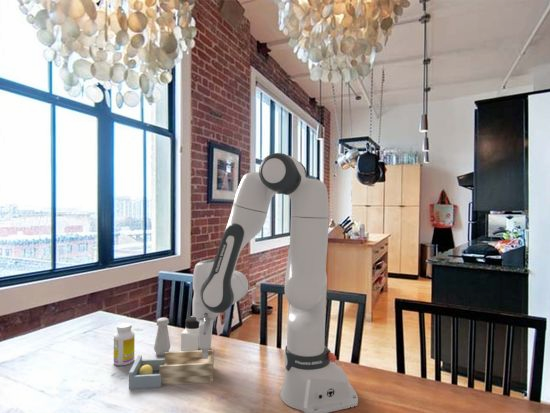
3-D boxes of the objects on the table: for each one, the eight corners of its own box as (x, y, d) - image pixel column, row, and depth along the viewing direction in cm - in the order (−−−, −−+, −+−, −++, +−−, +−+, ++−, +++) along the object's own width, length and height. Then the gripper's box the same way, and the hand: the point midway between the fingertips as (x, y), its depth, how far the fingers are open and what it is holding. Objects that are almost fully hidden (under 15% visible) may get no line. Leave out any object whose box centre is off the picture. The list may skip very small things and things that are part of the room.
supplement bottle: (137, 357, 120) (137, 322, 120) (129, 366, 114) (129, 329, 113) (118, 357, 120) (119, 321, 120) (109, 366, 113) (110, 328, 113)
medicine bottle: (198, 353, 124) (199, 321, 124) (180, 351, 125) (181, 320, 125) (205, 345, 131) (206, 315, 131) (188, 343, 132) (188, 313, 132)
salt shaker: (165, 357, 120) (165, 322, 120) (150, 356, 121) (151, 320, 121) (173, 350, 126) (173, 316, 126) (159, 349, 127) (159, 315, 127)
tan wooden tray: (213, 367, 114) (213, 349, 114) (212, 382, 104) (213, 363, 104) (164, 369, 112) (165, 352, 112) (159, 386, 102) (159, 366, 102)
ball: (149, 359, 108) (156, 369, 109) (138, 366, 108) (144, 376, 108) (146, 366, 104) (153, 376, 105) (135, 373, 104) (142, 383, 104)
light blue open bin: (166, 368, 112) (167, 354, 112) (160, 386, 101) (161, 370, 101) (137, 370, 111) (138, 355, 111) (128, 388, 100) (128, 372, 100)
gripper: (215, 319, 99) (215, 366, 99) (216, 299, 119) (216, 338, 119) (193, 320, 98) (193, 367, 98) (198, 300, 118) (198, 339, 118)
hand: (205, 351), depth 109 cm, fingers open, 8 cm apart
